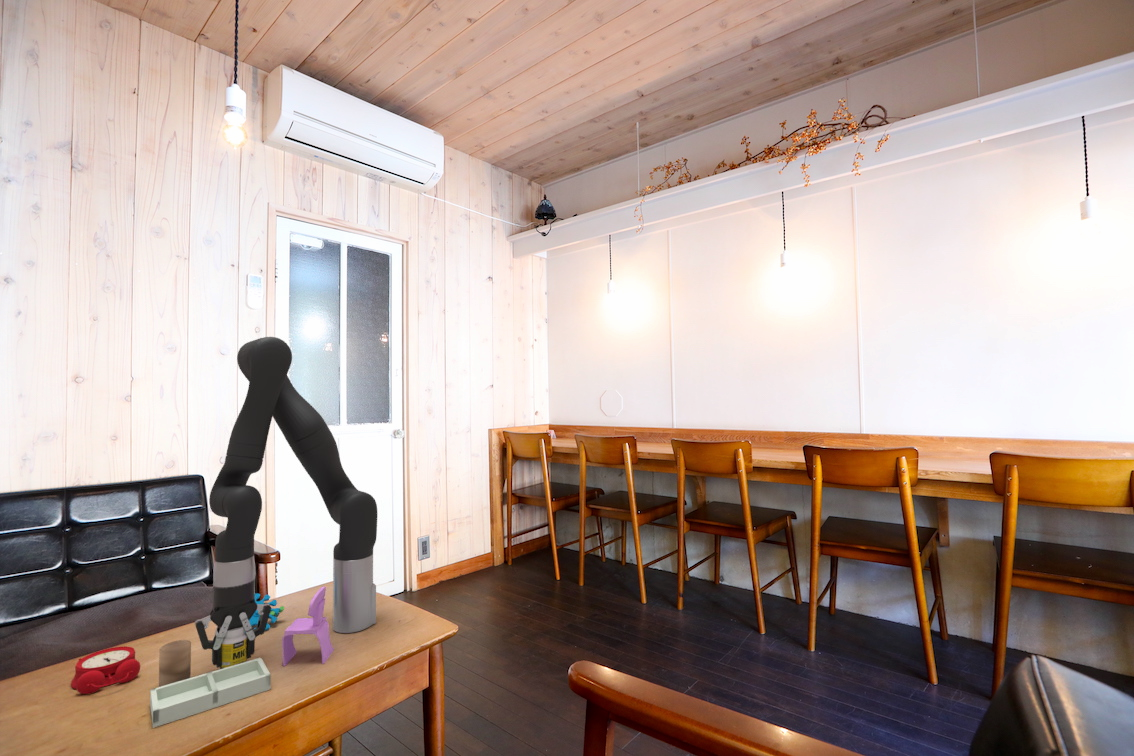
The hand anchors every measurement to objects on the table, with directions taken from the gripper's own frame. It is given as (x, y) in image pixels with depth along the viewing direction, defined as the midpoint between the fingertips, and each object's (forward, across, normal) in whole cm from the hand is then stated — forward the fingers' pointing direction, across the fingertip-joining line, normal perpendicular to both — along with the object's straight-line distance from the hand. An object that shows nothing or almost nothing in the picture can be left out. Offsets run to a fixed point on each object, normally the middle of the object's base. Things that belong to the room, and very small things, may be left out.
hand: (233, 660), depth 111 cm
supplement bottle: (+2, 0, 0) cm, 2 cm away
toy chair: (+2, -13, +6) cm, 14 cm away
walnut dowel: (+1, +10, +1) cm, 10 cm away
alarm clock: (+2, +20, -12) cm, 23 cm away
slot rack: (+1, +5, +10) cm, 11 cm away
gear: (+2, -8, -18) cm, 20 cm away
